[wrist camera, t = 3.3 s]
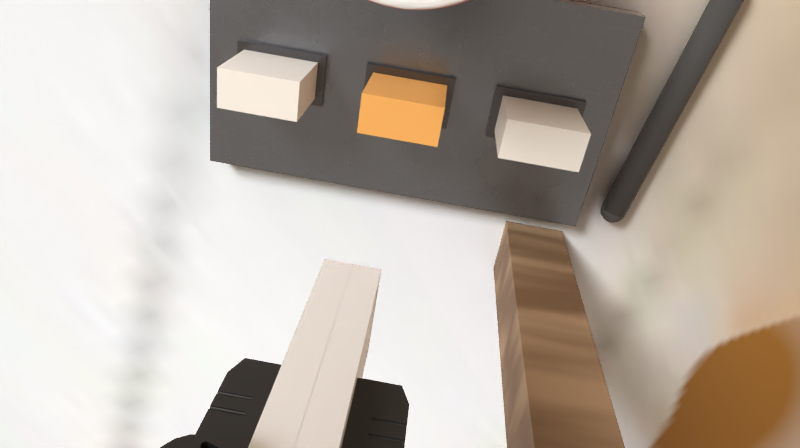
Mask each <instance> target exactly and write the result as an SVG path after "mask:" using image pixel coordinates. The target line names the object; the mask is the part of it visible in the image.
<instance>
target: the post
mask: <svg viewBox="0 0 800 448" xmlns="http://www.w3.org/2000/svg"><path fill="white" fill-rule="evenodd" d="M494 279H495V292H496V306H497V319H498V332H499V346H500V359H501V372H502V386H503V399H504V412H505V426H506V439H507V448H625V447H624V443H623V440H622V437H621V433H620V430H619V426H618V423H617V419H616V416H615V412H614V409H613V406H612V402H611V399H610V395H609V392H608V388H607V385H606V382H605V378H604V375H603V371H602V368H601V364H600V361H599V358H598V354H597V351H596V347H595V344H594V340H593V337H592V334H591V330H590V327H589V323H588V320H587V316H586V313H585V309H584V306H583V303H582V299H581V296H580V292H579V289H578V285H577V282H576V279H575V275H574V272H573V268H572V265H571V261H570V258H569V255H568V251H567V248H566V244H565V241H564V237H563V234H562V231H557V230H552V229H546V228H541V227H535V226H529V225H524V224H518V223H513V222H507V221H506V224H505V228H504V232H503V235H502V239H501V243H500V246H499V250H498V254H497V258H496V261H495V265H494Z"/></svg>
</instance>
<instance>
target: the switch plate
mask: <svg viewBox="0 0 800 448" xmlns="http://www.w3.org/2000/svg"><path fill="white" fill-rule="evenodd" d="M644 20H645V16H644V15H642V14H640V13H639V12H636V11H630V10H624V9H618V8H613V7H607V6H601V5H595V4H590V3H584V2H578V1H573V0H468V1H466V2H462V3H459V4H456V5H453V6H448V7H444V8H438V9H431V10H405V9H399V8H393V7H388V6H384V5H380V4H377V3H374V2H370V1H368V0H210V161H216V162H221V163H227V164H232V165H238V166H244V167H249V168H255V169H260V170H266V171H271V172H277V173H282V174H288V175H294V176H299V177H305V178H310V179H316V180H321V181H327V182H333V183H338V184H344V185H349V186H355V187H360V188H366V189H371V190H377V191H383V192H388V193H394V194H399V195H405V196H410V197H416V198H422V199H427V200H433V201H438V202H444V203H449V204H455V205H460V206H466V207H472V208H477V209H483V210H488V211H494V212H499V213H505V214H511V215H516V216H522V217H527V218H533V219H538V220H544V221H549V222H555V223H561V224H566V225H572V226H576V223H577V220H578V217H579V214H580V211H581V208H582V205H583V202H584V199H585V196H586V193H587V190H588V187H589V184H590V181H591V178H592V175H593V172H594V169H595V166H596V163H597V160H598V157H599V154H600V151H601V148H602V145H603V142H604V139H605V136H606V133H607V130H608V127H609V124H610V121H611V118H612V115H613V112H614V109H615V106H616V103H617V100H618V97H619V94H620V91H621V88H622V85H623V82H624V79H625V76H626V73H627V71H628V68H629V65H630V62H631V59H632V56H633V53H634V50H635V47H636V44H637V41H638V38H639V35H640V32H641V29H642V26H643V23H644ZM243 50H250V51H256V52H261V53H267V54H273V55H278V56H284V57H289V58H295V59H301V60H306V61H312V62H318V68H317V79H316V91H315V99H314V100H313V102H312V103H311V104H310V106H309V107H308V108H307V110H306V111H305V112H304V113H303V115H302V116H301V117H300V119H299V120H298V121H297V122H294V121H288V120H283V119H277V118H272V117H266V116H260V115H255V114H249V113H244V112H238V111H232V110H227V109H221V108H217V67H219V66H220V65H222V64H223V63H225V62H226V61H228V60H229V59H231V58H232V57H234V56H235V55H237V54H238V53H240V52H241V51H243ZM373 72H374V73H380V74H385V75H391V76H397V77H402V78H408V79H414V80H419V81H425V82H431V83H436V84H442V85H447V93H446V102H445V110H444V115H443V120H442V126H441V131H440V136H439V141H438V146H437V147H434V146H428V145H423V144H417V143H412V142H406V141H400V140H395V139H389V138H384V137H378V136H372V135H367V134H361V133H357V128H358V120H359V112H360V104H361V96H362V92H363V90H364V88H365V86H366V85H367V83H368V81H369V79H370V77H371V76H372V74H373ZM503 95H504V96H510V97H515V98H521V99H527V100H532V101H538V102H544V103H549V104H555V105H561V106H566V107H572V108H577V109H578V111H579V112H580V114H581V116H582V118H583V120H584V122H585V123H586V125H587V127H588V129H589V131H590V133H591V136H590V139H589V142H588V145H587V148H586V151H585V155H584V158H583V161H582V164H581V167H580V170H579V172H574V171H568V170H563V169H557V168H552V167H546V166H540V165H535V164H529V163H524V162H518V161H512V160H507V159H501V158H498V155H497V147H496V139H495V126H496V122H497V118H498V114H499V110H500V105H501V101H502V97H503Z"/></svg>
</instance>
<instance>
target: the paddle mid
mask: <svg viewBox="0 0 800 448" xmlns="http://www.w3.org/2000/svg"><path fill="white" fill-rule="evenodd" d="M446 93H447V85H442V84H436V83H431V82H425V81H419V80H414V79H408V78H402V77H397V76H391V75H385V74H380V73H374V72H373V74H372V76H371V77H370V79H369V81H368V83H367V85H366V86H365V88H364V90H363V92H362V96H361V104H360V112H359V120H358V128H357V133H361V134H367V135H372V136H378V137H384V138H389V139H395V140H400V141H406V142H412V143H417V144H423V145H428V146H434V147H437V146H438V141H439V136H440V131H441V126H442V120H443V115H444V110H445V102H446Z"/></svg>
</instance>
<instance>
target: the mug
mask: <svg viewBox="0 0 800 448" xmlns="http://www.w3.org/2000/svg"><path fill="white" fill-rule="evenodd" d="M368 1H370V2H374V3H377V4H380V5H384V6H388V7H393V8H399V9H405V10H431V9H438V8H444V7H448V6H453V5H456V4H459V3H462V2H466V1H468V0H368Z"/></svg>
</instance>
